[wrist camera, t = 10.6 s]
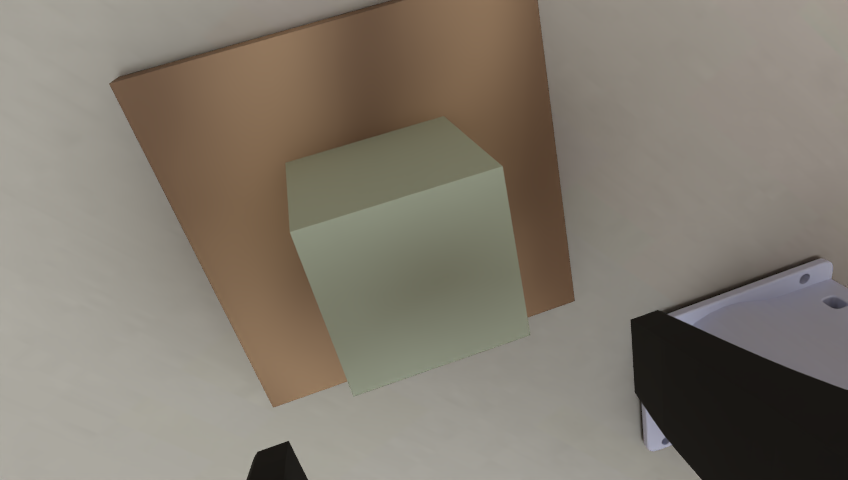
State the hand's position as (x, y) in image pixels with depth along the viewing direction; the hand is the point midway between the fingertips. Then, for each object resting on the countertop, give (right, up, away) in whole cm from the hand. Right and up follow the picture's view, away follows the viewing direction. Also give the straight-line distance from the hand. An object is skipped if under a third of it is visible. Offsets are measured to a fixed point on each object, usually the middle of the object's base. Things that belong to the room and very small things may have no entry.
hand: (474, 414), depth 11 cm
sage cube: (-2, +4, +7) cm, 8 cm away
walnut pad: (-2, +5, +8) cm, 9 cm away
